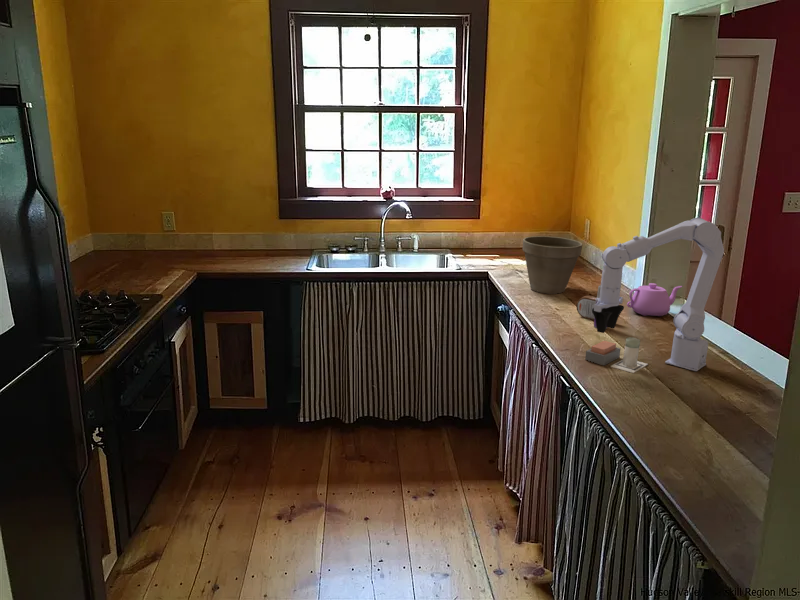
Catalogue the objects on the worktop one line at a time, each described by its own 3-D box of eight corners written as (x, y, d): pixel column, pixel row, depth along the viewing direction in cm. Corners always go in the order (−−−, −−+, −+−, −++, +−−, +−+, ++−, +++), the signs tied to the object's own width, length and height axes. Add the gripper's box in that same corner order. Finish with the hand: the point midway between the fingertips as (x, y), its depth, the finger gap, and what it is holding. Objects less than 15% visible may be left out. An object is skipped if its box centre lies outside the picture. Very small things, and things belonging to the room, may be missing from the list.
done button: (615, 349, 200) (616, 343, 199) (603, 355, 194) (603, 349, 194) (603, 346, 202) (604, 340, 202) (591, 351, 197) (591, 346, 196)
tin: (615, 323, 235) (618, 301, 233) (611, 325, 233) (614, 302, 231) (578, 314, 245) (580, 293, 243) (574, 316, 243) (576, 294, 241)
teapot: (631, 317, 243) (635, 287, 240) (620, 307, 256) (624, 278, 253) (685, 319, 243) (689, 288, 239) (671, 309, 255) (675, 280, 252)
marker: (636, 363, 195) (640, 338, 193) (636, 368, 191) (640, 342, 189) (622, 361, 196) (626, 336, 194) (622, 366, 192) (626, 340, 190)
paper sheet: (647, 364, 195) (647, 363, 195) (633, 373, 188) (633, 372, 188) (625, 358, 200) (626, 357, 199) (610, 366, 193) (610, 365, 193)
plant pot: (589, 292, 277) (595, 243, 271) (550, 300, 264) (554, 248, 258) (546, 280, 297) (550, 234, 291) (507, 287, 283) (510, 238, 277)
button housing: (619, 357, 201) (620, 348, 200) (603, 365, 193) (605, 356, 193) (601, 352, 205) (602, 343, 204) (585, 360, 198) (586, 350, 197)
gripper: (609, 280, 201) (604, 322, 204) (586, 288, 191) (582, 331, 194) (631, 284, 196) (626, 327, 200) (608, 292, 186) (603, 337, 189)
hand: (605, 329), depth 197 cm, fingers open, 6 cm apart
